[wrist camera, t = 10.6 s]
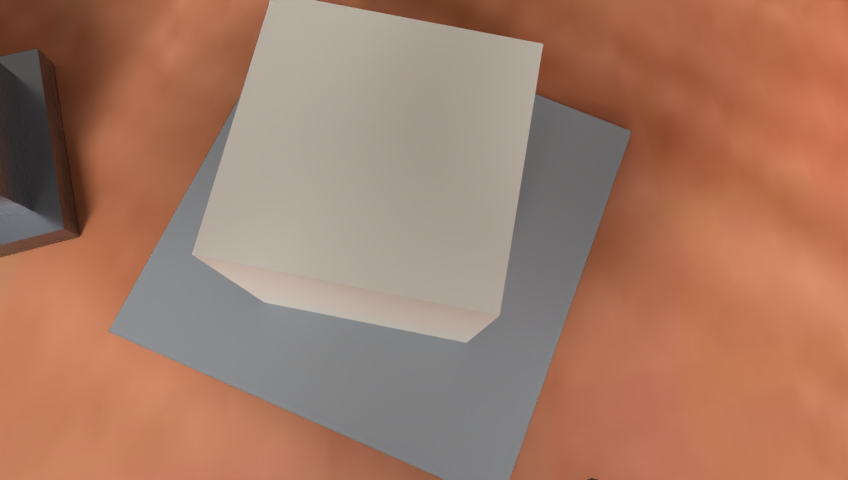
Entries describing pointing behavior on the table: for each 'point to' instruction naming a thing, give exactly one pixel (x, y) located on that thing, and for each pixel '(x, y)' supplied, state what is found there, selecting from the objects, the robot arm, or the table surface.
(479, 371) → the mat
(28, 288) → the table surface
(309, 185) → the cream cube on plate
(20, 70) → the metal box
